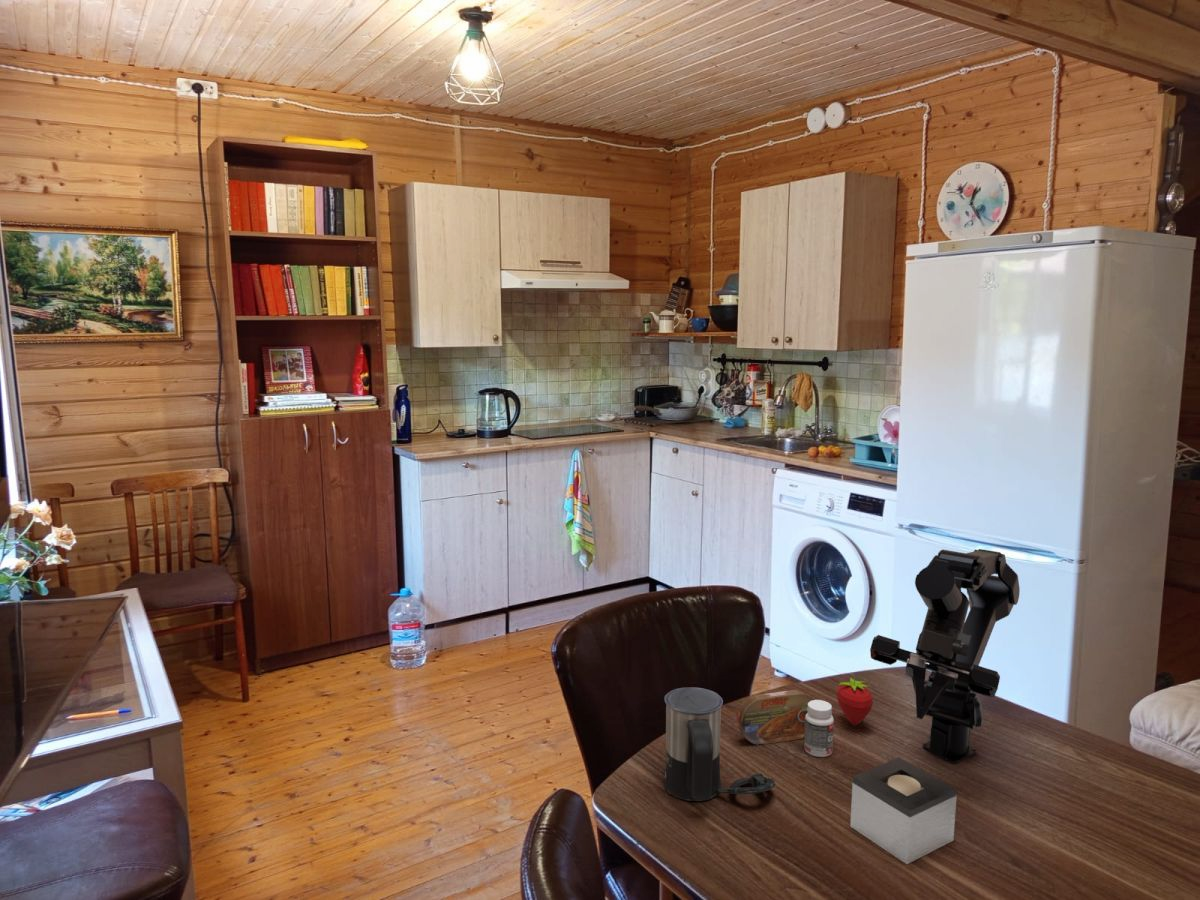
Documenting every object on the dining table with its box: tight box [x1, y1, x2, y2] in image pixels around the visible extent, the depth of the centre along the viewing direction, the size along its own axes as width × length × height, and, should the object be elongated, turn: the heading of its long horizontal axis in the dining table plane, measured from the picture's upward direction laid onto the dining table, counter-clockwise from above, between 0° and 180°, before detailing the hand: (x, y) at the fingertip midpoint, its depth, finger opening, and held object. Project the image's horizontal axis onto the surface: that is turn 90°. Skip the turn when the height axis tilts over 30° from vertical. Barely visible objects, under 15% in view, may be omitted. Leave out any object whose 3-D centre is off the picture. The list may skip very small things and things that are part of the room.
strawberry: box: [836, 673, 874, 727], centre depth 152 cm, size 6×8×10 cm
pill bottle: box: [804, 699, 835, 758], centre depth 143 cm, size 5×5×8 cm
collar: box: [850, 757, 958, 865], centre depth 120 cm, size 10×10×8 cm
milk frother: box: [663, 686, 776, 802], centre depth 131 cm, size 14×16×15 cm
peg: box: [888, 775, 921, 796], centre depth 120 cm, size 4×4×8 cm
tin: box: [736, 689, 815, 745], centre depth 147 cm, size 15×3×8 cm, turn 104°
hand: (919, 718), depth 128 cm, fingers closed
